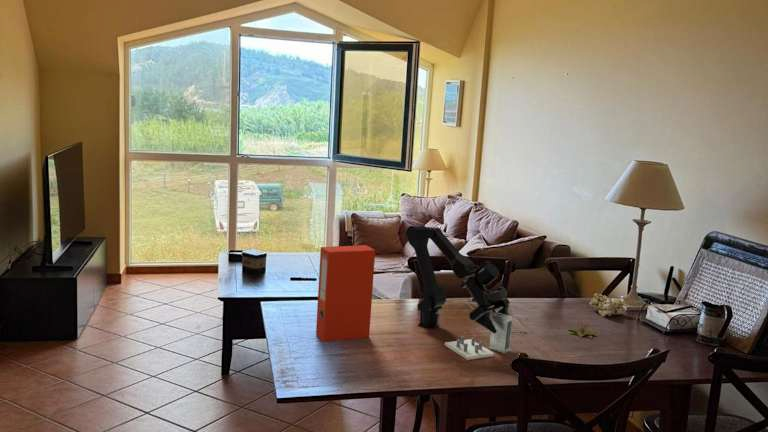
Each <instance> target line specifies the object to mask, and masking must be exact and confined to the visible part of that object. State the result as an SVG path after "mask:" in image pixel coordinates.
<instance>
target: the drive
mask: <svg viewBox="0 0 768 432" xmlns="http://www.w3.org/2000/svg"><path fill="white" fill-rule="evenodd" d="M513 319H514V318H513V316H512V315H509V314H508V315H505V314H502V313H493V314H492V319H491V321H492V323H493V325H494V327H495V329H496V331H497V332H496V333H493V332H491V331H490V338H489V347H488V348H489V349H491V350H493V351H496V352H499V353H501V352H502V354H505V353H506V354H507V353H508V352H510V349H511V347H510V346H511V337H512V328H513Z"/></svg>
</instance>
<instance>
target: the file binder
mask: <svg viewBox="0 0 768 432" xmlns="http://www.w3.org/2000/svg"><path fill="white" fill-rule="evenodd" d="M319 255H320V256H319V272H318V273H319V275H318V290H317V307H316V308H317V309H316V326H315V335H316V336H317V337H318V338H319V339H320V340H321V341H322V342H323V343H328V342H338V341H344V340H345V341H347V340H355V339H356V340H358V339H364V338H369V337H370V330H371V329H370V327H371V318H372V303H373V301H372V300H373V290H374V289H373V288H374V286H373V285H374V274H375V261H376V260H375V259H376V250H375V249H374V248H372V247H370V246H368V245H366V244H364V245H342V246H341V245H340V246H320V254H319Z"/></svg>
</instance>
